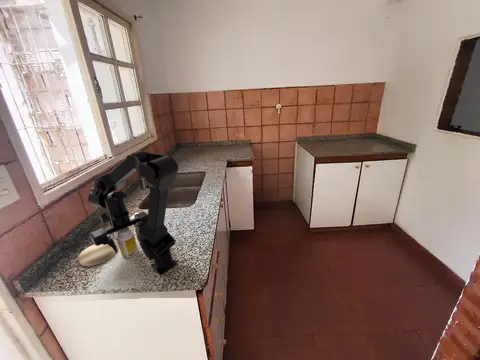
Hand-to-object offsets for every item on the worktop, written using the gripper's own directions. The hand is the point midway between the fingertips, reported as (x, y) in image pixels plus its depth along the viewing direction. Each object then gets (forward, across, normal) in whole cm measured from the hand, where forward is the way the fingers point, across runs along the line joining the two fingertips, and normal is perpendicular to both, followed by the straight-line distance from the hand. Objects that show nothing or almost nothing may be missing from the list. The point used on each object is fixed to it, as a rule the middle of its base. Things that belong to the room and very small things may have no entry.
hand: (128, 246), depth 79 cm
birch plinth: (+3, +8, -9) cm, 12 cm away
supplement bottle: (+3, 0, 0) cm, 3 cm away
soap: (+4, -14, -20) cm, 25 cm away
